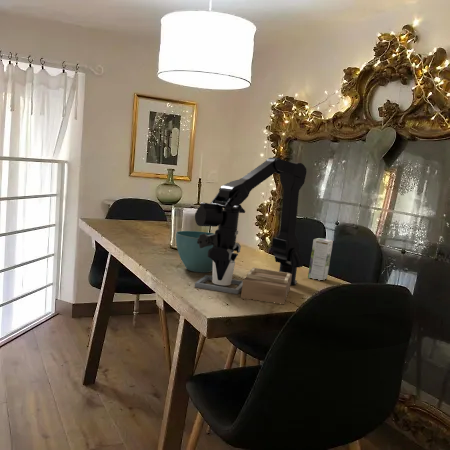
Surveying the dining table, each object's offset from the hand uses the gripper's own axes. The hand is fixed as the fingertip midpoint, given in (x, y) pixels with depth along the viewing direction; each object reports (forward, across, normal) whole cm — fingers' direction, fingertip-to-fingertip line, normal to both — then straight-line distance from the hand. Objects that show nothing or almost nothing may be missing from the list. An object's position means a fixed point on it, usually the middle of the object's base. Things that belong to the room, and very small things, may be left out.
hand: (222, 278), depth 146 cm
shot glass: (+2, 0, 0) cm, 2 cm away
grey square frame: (+2, 0, 0) cm, 2 cm away
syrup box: (+3, -35, +28) cm, 45 cm away
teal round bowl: (+3, -18, -12) cm, 22 cm away
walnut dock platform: (+2, 0, +14) cm, 14 cm away
